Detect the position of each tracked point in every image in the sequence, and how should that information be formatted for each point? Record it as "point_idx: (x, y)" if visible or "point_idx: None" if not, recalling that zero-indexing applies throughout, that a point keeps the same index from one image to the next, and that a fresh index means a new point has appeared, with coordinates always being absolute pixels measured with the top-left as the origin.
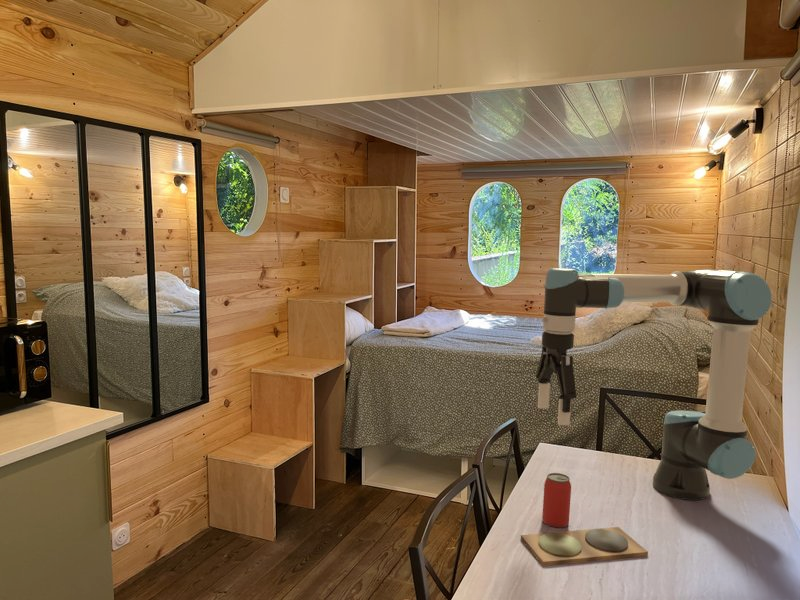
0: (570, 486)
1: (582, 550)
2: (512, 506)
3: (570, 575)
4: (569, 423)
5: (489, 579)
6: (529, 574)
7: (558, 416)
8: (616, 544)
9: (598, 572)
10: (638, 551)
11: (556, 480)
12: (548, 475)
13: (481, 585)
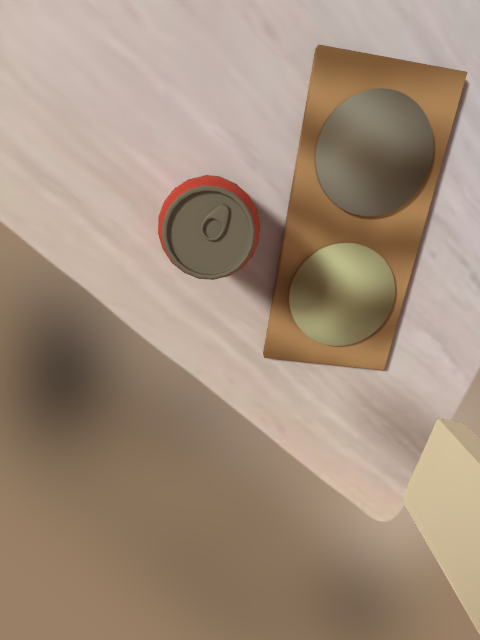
0: (248, 197)
1: (383, 254)
2: (87, 281)
3: (433, 331)
4: (471, 433)
5: (374, 477)
6: (392, 405)
7: (449, 562)
8: (410, 148)
9: (453, 264)
10: (453, 101)
11: (226, 254)
12: (179, 262)
13: (384, 496)
